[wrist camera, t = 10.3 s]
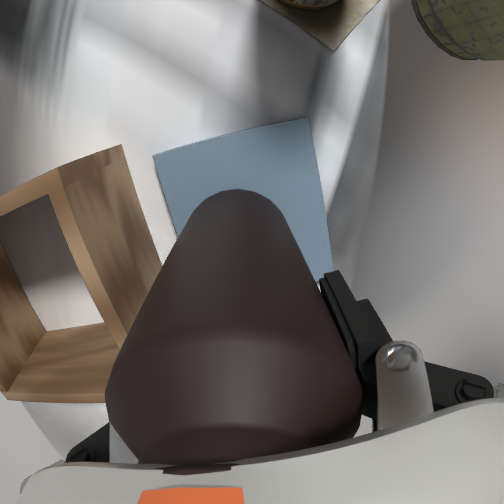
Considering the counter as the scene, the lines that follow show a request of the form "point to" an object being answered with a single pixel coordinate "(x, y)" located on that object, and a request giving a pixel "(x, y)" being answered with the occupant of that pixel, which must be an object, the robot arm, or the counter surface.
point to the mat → (254, 180)
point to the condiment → (324, 16)
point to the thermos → (464, 27)
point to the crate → (93, 273)
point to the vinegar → (231, 353)
